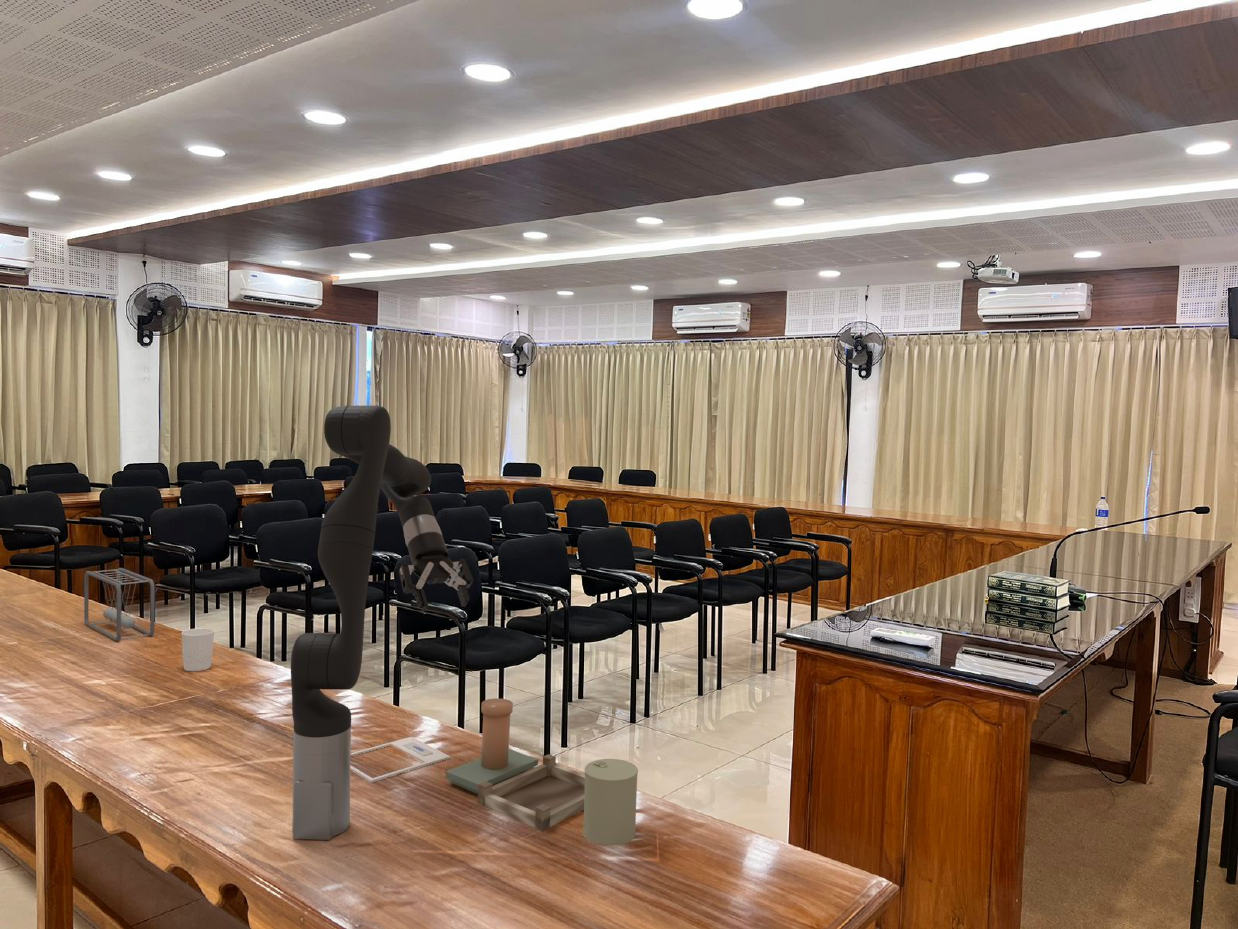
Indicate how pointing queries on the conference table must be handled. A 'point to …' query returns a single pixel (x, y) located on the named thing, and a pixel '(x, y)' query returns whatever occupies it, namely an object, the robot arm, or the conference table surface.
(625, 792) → the can
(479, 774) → the green stand
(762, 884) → the conference table surface
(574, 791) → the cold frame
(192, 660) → the white cup
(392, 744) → the photo frame
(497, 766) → the brown capped bottle
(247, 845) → the conference table surface
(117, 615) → the newton's cradle
